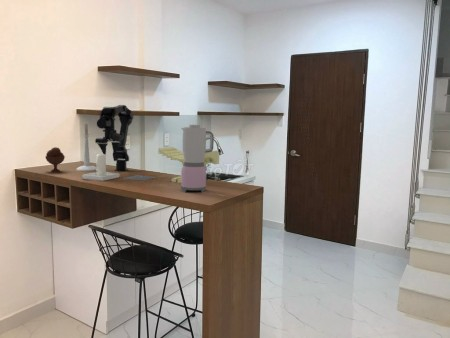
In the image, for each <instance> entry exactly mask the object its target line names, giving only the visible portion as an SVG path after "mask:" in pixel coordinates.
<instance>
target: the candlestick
mask: <svg viewBox="0 0 450 338" xmlns="http://www.w3.org/2000/svg"><path fill="white" fill-rule="evenodd" d="M83 125H84V133H83V137H84V154H83V155H84V157H83V165H81V166H78V167H77V168H76V171H77V172H78V171H79V172H95V171H96V166H94V165H91V162H90V148H89V146H90V145H89V135H90V133H89V125H88V123H84V124H83ZM94 170H95V171H94Z"/></svg>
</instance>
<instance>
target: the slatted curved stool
mask: <svg viewBox="0 0 450 338" xmlns="http://www.w3.org/2000/svg"><path fill="white" fill-rule="evenodd" d="M157 153H158V154H159V155H161V154H162V156H164V157H166V159H167V158H168V159H170V160H171V161H179V162H181V164H182V166H183V165H184V156H183V151H181V150H179V149H178V148H176V147H172V146H171V147H170V146H169V147H160V148H158V152H157ZM208 164H213V165H219V164H220V153H219V151H218V150H213V151H211V152H207V153H205V157H204V166H205V168H206V167H207V165H208ZM170 182H171V183H178V184H179V183H180V184H181V175H179V176H177V177H176V176H175V177H172V178H171V180H170Z"/></svg>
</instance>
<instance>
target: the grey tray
mask: <svg viewBox="0 0 450 338" xmlns="http://www.w3.org/2000/svg"><path fill="white" fill-rule="evenodd" d="M81 176H82V177H81V180H84V181H85V180H87V181H88V180H93V181H99V182H100V181H102V182H103V181H107V180H112V179H117V178H120V173H117V172H108V171H106V176H103V177H102V176H96V172H95V171H94V172H89V173H86V174H85V173H84V174H81Z"/></svg>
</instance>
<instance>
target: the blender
mask: <svg viewBox="0 0 450 338" xmlns="http://www.w3.org/2000/svg"><path fill="white" fill-rule="evenodd" d="M181 130H182V153H183V156H184V165H183V164H182V167H181V171H180V176H181V183H180V189H181V191H182V192H183V193H186V192H187V191H200V192H201V193H204V192H205V190H206V189H207V180H209V173H207V169H206V167H205V166H204V157H205V153H207V152H211V151H214V139H215V136H214V133H213V132H212V131H208V130H207V129H206V127H201V125H200V124H189V126H188V127H187V126H185V127H181ZM207 135H208V136H210V137H209V148H207Z"/></svg>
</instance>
